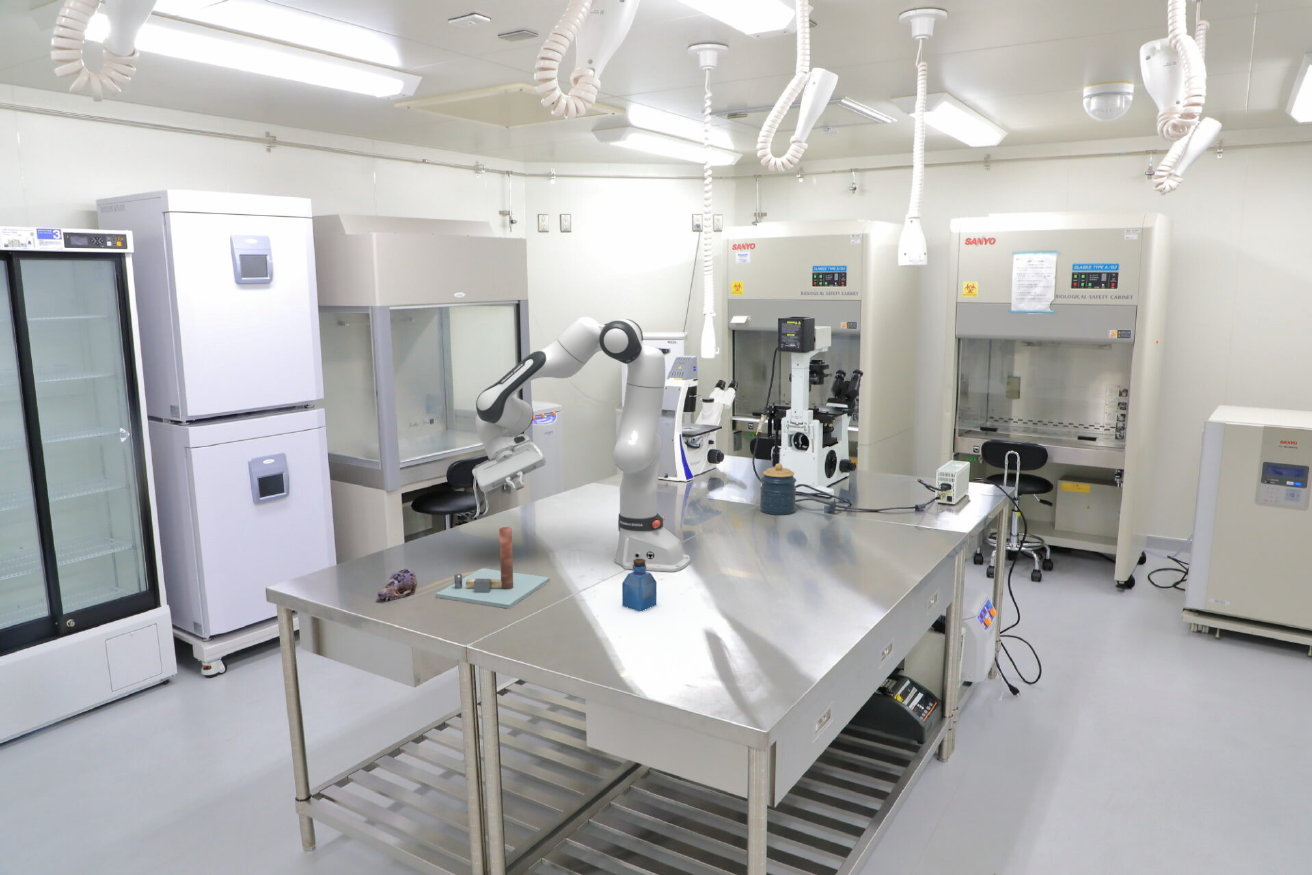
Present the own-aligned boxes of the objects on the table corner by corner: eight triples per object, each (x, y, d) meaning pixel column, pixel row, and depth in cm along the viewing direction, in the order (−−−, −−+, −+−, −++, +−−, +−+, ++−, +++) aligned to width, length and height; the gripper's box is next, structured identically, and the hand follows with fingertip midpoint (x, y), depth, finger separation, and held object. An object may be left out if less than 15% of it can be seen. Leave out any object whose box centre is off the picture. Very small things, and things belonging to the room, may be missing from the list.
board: (550, 580, 236) (549, 577, 236) (509, 608, 216) (509, 604, 215) (481, 571, 244) (481, 568, 243) (436, 597, 223) (435, 593, 223)
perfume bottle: (638, 599, 222) (638, 555, 220) (656, 604, 218) (656, 560, 216) (622, 606, 218) (622, 561, 216) (640, 611, 214) (640, 566, 212)
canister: (752, 508, 314) (754, 461, 310) (782, 504, 319) (783, 458, 316) (772, 517, 302) (773, 468, 299) (802, 513, 307) (804, 465, 304)
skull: (386, 605, 218) (385, 582, 217) (367, 599, 222) (366, 576, 221) (423, 591, 228) (422, 569, 227) (404, 586, 232) (403, 564, 231)
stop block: (491, 589, 226) (490, 578, 226) (489, 592, 224) (489, 581, 224) (476, 589, 226) (475, 578, 226) (474, 592, 224) (473, 581, 224)
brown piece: (465, 588, 226) (463, 530, 223) (468, 584, 229) (465, 527, 226) (512, 588, 226) (510, 530, 223) (514, 584, 229) (512, 527, 227)
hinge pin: (464, 590, 228) (463, 574, 228) (459, 592, 227) (459, 576, 226) (457, 589, 229) (457, 573, 228) (453, 591, 227) (452, 575, 226)
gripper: (467, 462, 244) (482, 498, 237) (532, 432, 248) (549, 467, 240) (473, 474, 249) (488, 509, 242) (537, 444, 253) (554, 478, 245)
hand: (519, 488), depth 241 cm, fingers closed
